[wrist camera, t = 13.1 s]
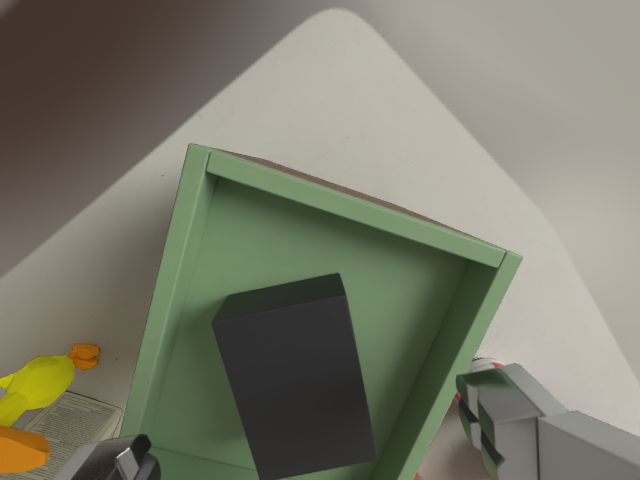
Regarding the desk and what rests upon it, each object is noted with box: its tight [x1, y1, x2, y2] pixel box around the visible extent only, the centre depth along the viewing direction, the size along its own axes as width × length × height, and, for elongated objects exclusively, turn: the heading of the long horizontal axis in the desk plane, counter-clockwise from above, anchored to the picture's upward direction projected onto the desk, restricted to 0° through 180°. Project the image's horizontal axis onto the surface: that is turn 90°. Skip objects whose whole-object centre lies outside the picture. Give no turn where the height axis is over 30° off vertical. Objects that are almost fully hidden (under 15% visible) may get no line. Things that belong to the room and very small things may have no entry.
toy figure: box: [0, 344, 99, 473], centre depth 19 cm, size 7×4×12 cm, turn 75°
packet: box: [211, 273, 378, 480], centre depth 10 cm, size 6×4×2 cm, turn 11°
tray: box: [119, 143, 523, 480], centre depth 17 cm, size 12×10×14 cm
